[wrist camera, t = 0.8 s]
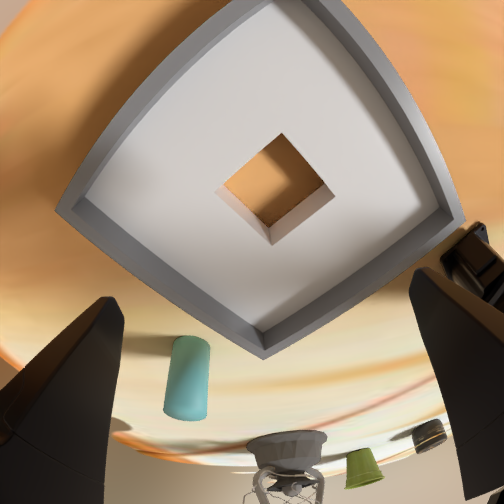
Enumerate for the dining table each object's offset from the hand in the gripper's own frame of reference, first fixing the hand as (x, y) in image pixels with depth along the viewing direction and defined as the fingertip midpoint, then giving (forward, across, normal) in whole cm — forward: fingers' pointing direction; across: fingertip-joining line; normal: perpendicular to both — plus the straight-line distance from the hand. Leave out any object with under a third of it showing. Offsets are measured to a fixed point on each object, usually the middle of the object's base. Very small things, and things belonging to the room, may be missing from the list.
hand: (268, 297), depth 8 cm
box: (+13, -1, +1) cm, 13 cm away
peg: (+13, +8, +19) cm, 24 cm away
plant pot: (+14, -24, +80) cm, 85 cm away
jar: (+14, -44, +73) cm, 87 cm away
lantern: (+13, -2, +58) cm, 59 cm away
